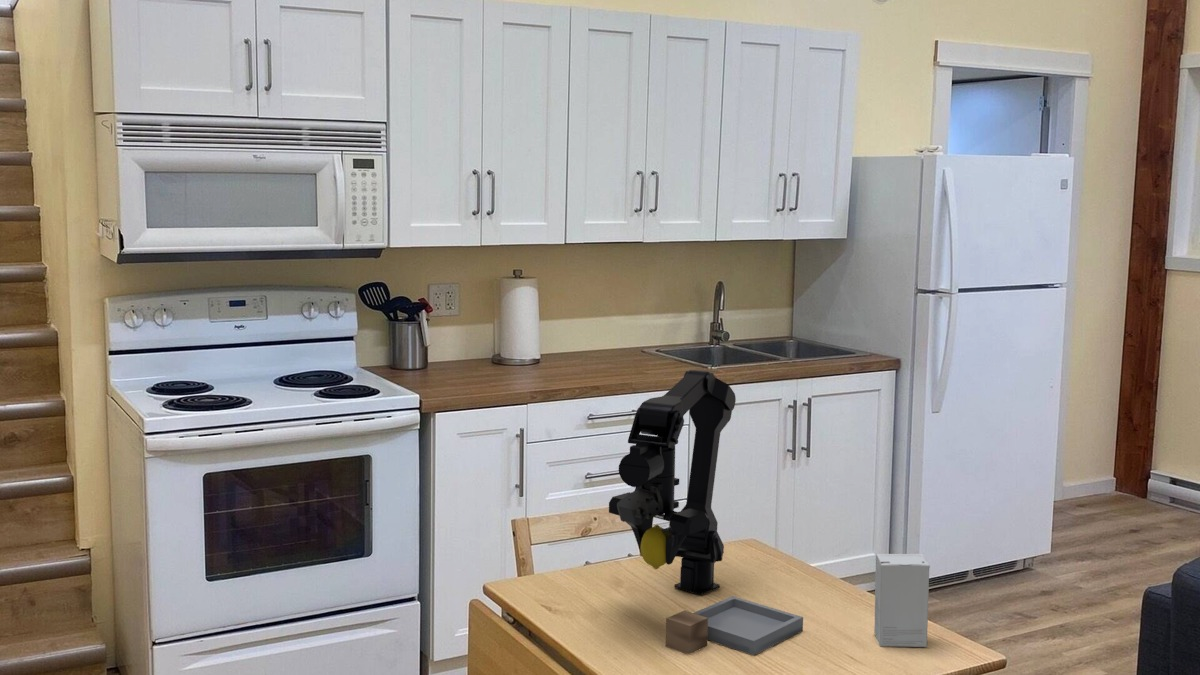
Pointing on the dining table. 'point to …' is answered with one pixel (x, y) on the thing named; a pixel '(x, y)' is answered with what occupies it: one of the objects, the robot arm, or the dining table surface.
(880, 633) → the skincare box
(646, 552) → the lemon
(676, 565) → the dining table surface
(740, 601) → the dish
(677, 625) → the walnut block
